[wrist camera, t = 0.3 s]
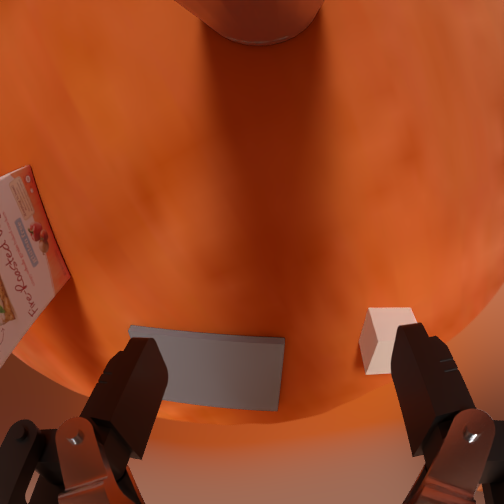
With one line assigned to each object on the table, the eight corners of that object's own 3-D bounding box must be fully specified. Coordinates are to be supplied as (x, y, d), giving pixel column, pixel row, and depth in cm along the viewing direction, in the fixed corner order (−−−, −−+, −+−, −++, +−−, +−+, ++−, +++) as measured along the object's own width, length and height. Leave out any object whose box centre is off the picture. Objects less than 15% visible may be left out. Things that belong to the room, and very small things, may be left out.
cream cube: (368, 307, 31) (378, 341, 27) (410, 307, 31) (424, 339, 27) (358, 341, 34) (365, 374, 30) (398, 339, 34) (408, 372, 29)
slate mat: (130, 325, 35) (128, 330, 35) (284, 337, 34) (284, 344, 33) (154, 392, 42) (153, 398, 42) (277, 405, 41) (277, 411, 40)
